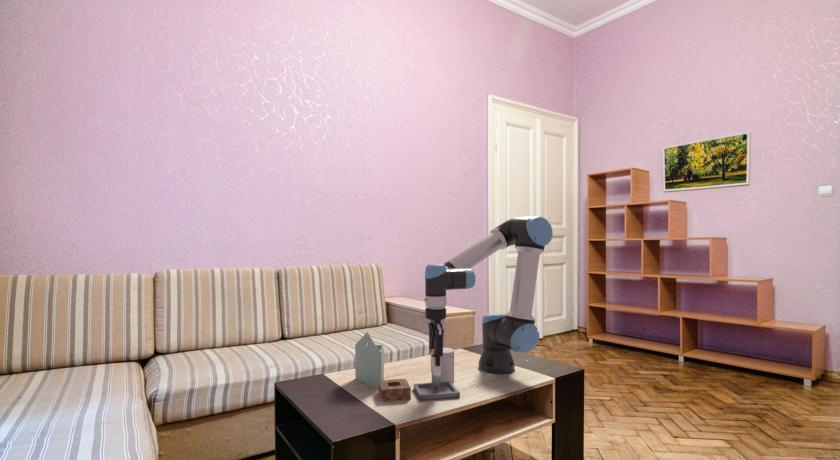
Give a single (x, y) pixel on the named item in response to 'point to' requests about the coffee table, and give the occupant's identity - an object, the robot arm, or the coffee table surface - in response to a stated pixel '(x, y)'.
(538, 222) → the robot arm
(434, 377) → the pin
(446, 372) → the white cylinder
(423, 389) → the tray
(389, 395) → the block
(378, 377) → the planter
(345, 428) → the coffee table surface
